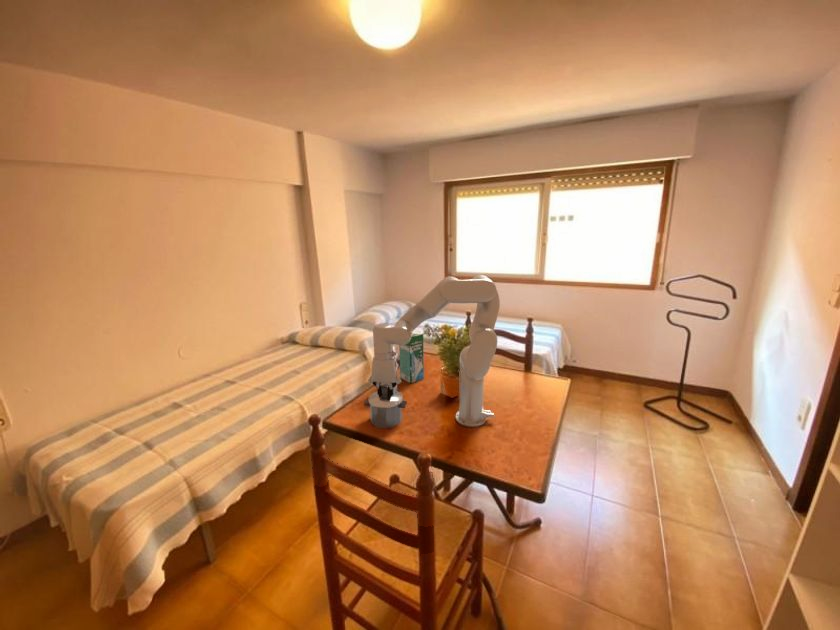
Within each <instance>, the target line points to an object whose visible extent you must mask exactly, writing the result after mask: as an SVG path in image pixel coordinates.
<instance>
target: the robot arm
mask: <svg viewBox="0 0 840 630" xmlns="http://www.w3.org/2000/svg"><path fill="white" fill-rule="evenodd" d="M450 304H476V308H475V309H476V310H475V313H474V316H473V319H472V323H471V326H470V327H469V331H468V339H469V340H470V344H469V345H468V346H465V347H464V348H462V350H461V351H460V354H459V408H458V411H456V413H455V421H456V422H458V423H459V424H460V425H461V426H466V427H470V428H471V427H472V428H475V427H480V426H482V425H484V424H486V421H487V418H490V419H494V418H495V413H493V412H491V410H488V409H487V410H486V409H484V382H485V376H486V375H487V374H488V373H489V370H490V368H491V366H492V362H493V359H494V356H495V354H496V350H497V346H498V335H497V333H496V331H495V327H496V323H497V320H498V315H499V312H500V305H501V303H500V296H499V292H498V289H497V286H496V284H495V282H494V281H493V280H492V279H490V278H489V277H488V276H487V275H484V274H477V275H475V276H473V277H472V278H471V279H458V278H457V277H455V276H449V275H448V276H446V277H444V278H443V279H442V280H441V281H439V282H438V283H437V284H436V285H435V286H434V287H433V288H432V289H431V290H430V291H429V292H428V293H427V294H426V295H425V296H424V297H422V299H420V300H419V301H418V302H417V303H416V304H414V306H413V307H411V308H410V309H409V310H408V311H406V312H405V313H404V314H402V316H401V317H400V318H399V319H398V320H397V321H396V322H395V324H394V325H393V326H392V325H391V324H389V323H378V324H375V325H374V326H373V328H372V338H373V341H372V342H373V358H372V362H371V375H370V377H369V378H368V382H369V383H370V384H372V385H373V386H374V387H375V388H376V389H377V390H376V391H377V394H378V395H379V398H381V382H387V383H389V398H390V399H391V397H392V396H393V388H394V387H395V386H396V385H397V386H398V385H400V384H401V383H402V378H400V375H399V373H398V371H399V370H398V364H397V359H396V358H397V357H396V356H398V355H397V354H398V353H397V352H396V351H394V345H397V346H399V345H405V344H408V343H409V342H410V340H411V336H412V333H413V332H414V330H416V329H417V328H418V327H419V326H420V325H422V323H424V322H425V321H427V320H430V319H434V318H436V317H438V316H439V314H441V312H442V311H444V310H445V308H447V307H448V306H449V305H450ZM396 380H397V381H396Z"/></svg>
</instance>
